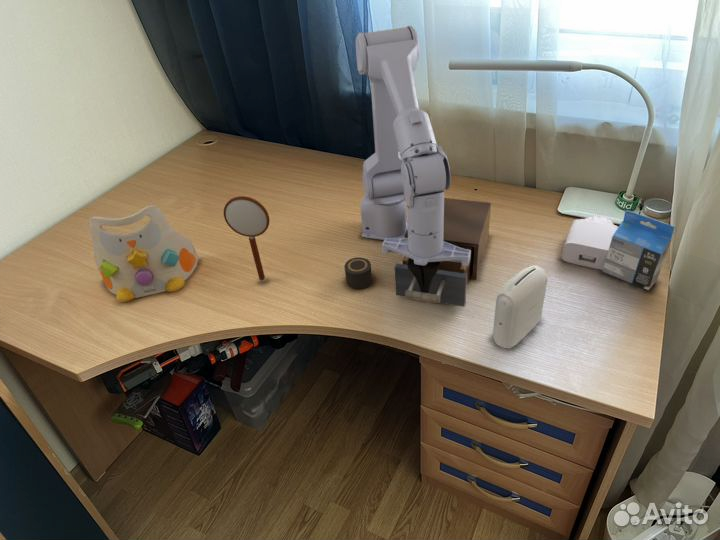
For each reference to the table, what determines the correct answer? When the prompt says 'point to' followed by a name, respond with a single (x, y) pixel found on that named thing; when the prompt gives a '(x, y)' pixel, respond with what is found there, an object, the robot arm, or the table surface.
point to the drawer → (436, 282)
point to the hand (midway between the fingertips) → (425, 289)
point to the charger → (589, 241)
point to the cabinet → (467, 227)
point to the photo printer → (519, 306)
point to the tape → (358, 273)
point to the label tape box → (638, 250)
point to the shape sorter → (142, 255)
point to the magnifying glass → (248, 223)
